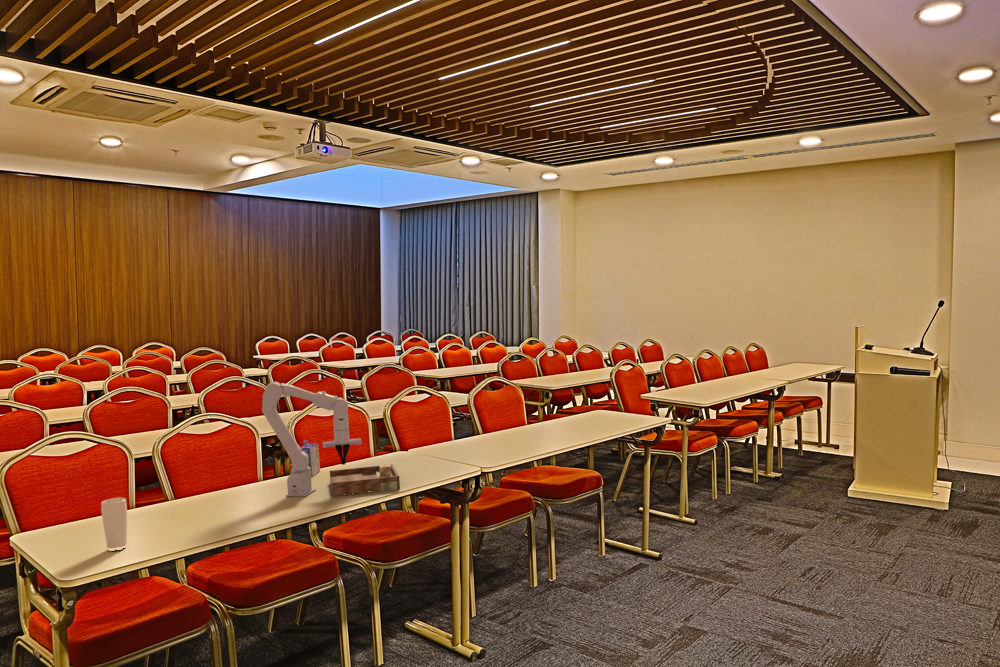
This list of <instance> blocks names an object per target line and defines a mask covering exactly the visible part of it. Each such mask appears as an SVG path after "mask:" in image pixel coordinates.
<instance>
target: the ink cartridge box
mask: <svg viewBox="0 0 1000 667" xmlns="http://www.w3.org/2000/svg"><path fill="white" fill-rule="evenodd" d="M303 444H304V445H303V446H301V447H300V448H301V449H302V450H303V451H305V452H306V453H307V454H308V457H309V465H308V466H309V467H310V469H311V477H313V476H315V475H316V474H318V473H319V472H320V471H321V465H320V452H319V451H320V450H319V443H309V441H308V440H307V439H305V440H303Z"/></svg>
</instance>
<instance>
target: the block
mask: <svg viewBox="0 0 1000 667" xmlns="http://www.w3.org/2000/svg"><path fill="white" fill-rule="evenodd" d="M378 466H379V469H380V477H390V476H391V466H390V464H380V465H378Z"/></svg>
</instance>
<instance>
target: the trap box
mask: <svg viewBox="0 0 1000 667" xmlns="http://www.w3.org/2000/svg"><path fill="white" fill-rule="evenodd" d="M390 466H391V476H390V477H380V469H379V465H374V466H372V465H371V466H364V467H363V466H362V467H361V466H360V467H355V468H354V467H353V468H344V469H336V470H329V479H330V480H329V483H330V488H331V493H332V494H333V495H332V494H331V495H332V497H333V496H334V497H339V496H338V495H343V496H345V495H344V494H351V495H353V494H352V493H360V494H362V493H361V492H368V491H378V492H383V491H382V490H386V491H395V490H400V489H401V484H400V483H401V482H400V475H399V473H398V471H397V470H396V468H395V466H394V465H393V463H391V464H390Z"/></svg>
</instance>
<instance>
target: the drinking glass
mask: <svg viewBox="0 0 1000 667" xmlns="http://www.w3.org/2000/svg"><path fill="white" fill-rule="evenodd" d="M127 504H128V503H127V499H126V497H113V498H108V499H105V500H102V501H101V504H100V508H101V509H100V510H101V519H102V525H103V529H104V530H103V531H104V536H105V542H106V548H107V547H108V548H116V547H122V546H125V545H126V544H127V545H128V542H127V540H128V539H127V538H128V536H127V534H128V530H127V527H128V507H127V506H128V505H127Z"/></svg>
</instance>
